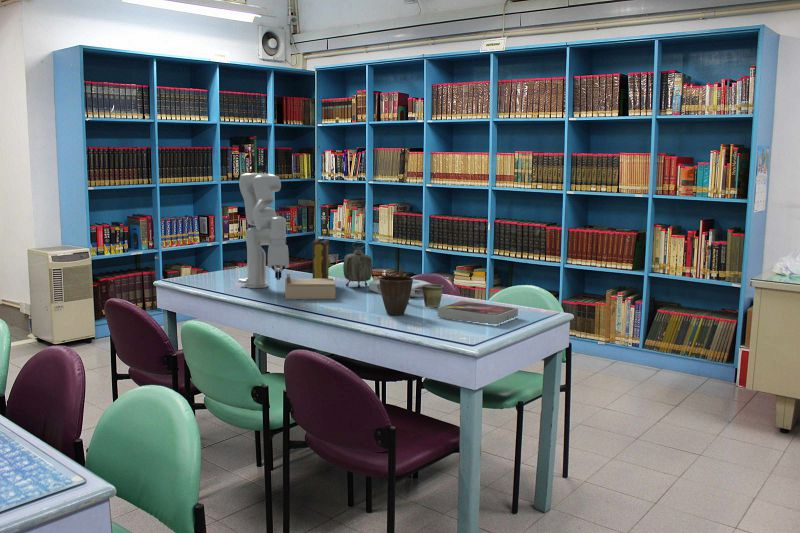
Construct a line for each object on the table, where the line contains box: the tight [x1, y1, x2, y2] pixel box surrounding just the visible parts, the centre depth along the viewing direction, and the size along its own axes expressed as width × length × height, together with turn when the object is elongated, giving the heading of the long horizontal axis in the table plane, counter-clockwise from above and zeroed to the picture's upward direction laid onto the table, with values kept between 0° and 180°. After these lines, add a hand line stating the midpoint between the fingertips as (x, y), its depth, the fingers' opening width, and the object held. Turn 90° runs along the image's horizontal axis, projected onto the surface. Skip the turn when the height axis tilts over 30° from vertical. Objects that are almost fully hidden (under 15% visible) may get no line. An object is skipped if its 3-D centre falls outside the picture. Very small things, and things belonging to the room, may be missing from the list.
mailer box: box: [284, 285, 336, 301], centre depth 353 cm, size 24×18×7 cm
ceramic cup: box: [421, 283, 444, 309], centre depth 335 cm, size 13×10×10 cm
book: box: [312, 238, 332, 279], centre depth 382 cm, size 22×8×25 cm, turn 179°
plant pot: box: [378, 275, 414, 316], centre depth 314 cm, size 15×15×16 cm
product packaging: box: [437, 300, 519, 324], centre depth 311 cm, size 22×28×5 cm
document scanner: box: [368, 278, 431, 298], centre depth 370 cm, size 21×28×6 cm
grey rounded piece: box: [342, 240, 373, 289], centre depth 383 cm, size 14×9×25 cm, turn 108°
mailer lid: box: [284, 273, 336, 287], centre depth 352 cm, size 24×18×4 cm
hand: (278, 279), depth 349 cm, fingers closed
